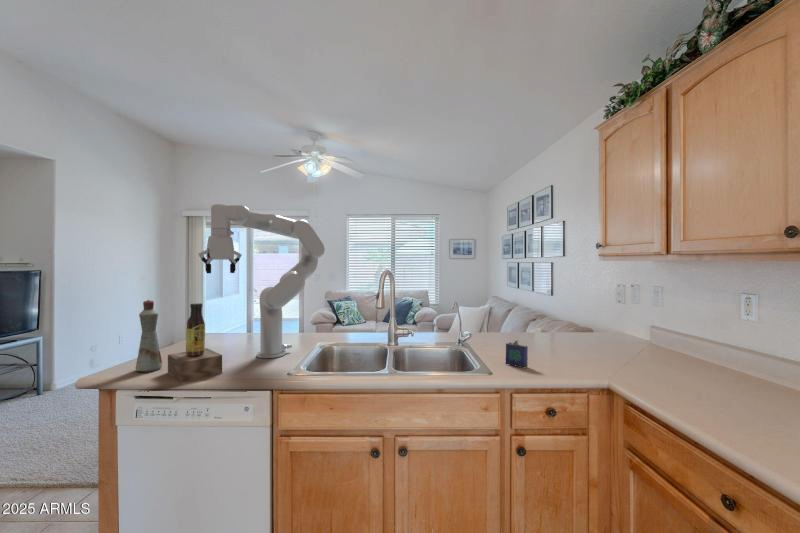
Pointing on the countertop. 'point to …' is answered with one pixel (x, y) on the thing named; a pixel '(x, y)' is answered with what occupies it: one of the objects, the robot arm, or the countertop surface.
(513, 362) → the flask
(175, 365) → the walnut block
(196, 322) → the sauce bottle
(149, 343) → the bottle
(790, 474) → the countertop surface
